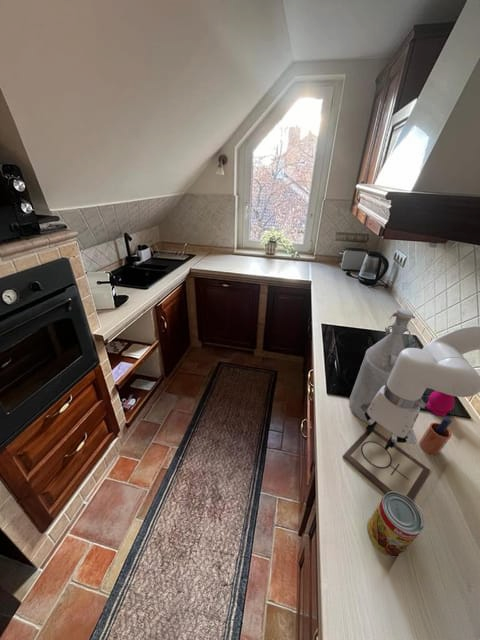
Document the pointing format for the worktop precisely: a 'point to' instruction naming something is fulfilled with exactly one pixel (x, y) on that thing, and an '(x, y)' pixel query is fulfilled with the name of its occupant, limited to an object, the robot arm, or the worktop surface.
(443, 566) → the worktop surface
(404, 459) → the framed female symbol sign
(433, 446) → the pen cup
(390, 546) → the canned food
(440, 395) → the pepper mill
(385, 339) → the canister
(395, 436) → the robot arm
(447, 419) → the marker
